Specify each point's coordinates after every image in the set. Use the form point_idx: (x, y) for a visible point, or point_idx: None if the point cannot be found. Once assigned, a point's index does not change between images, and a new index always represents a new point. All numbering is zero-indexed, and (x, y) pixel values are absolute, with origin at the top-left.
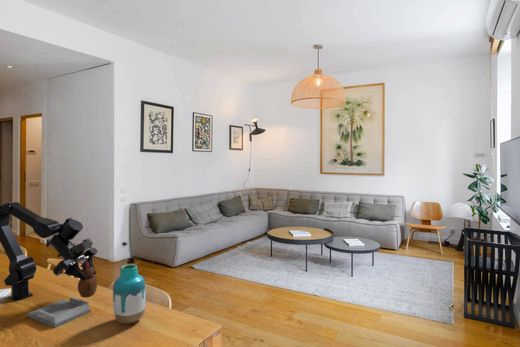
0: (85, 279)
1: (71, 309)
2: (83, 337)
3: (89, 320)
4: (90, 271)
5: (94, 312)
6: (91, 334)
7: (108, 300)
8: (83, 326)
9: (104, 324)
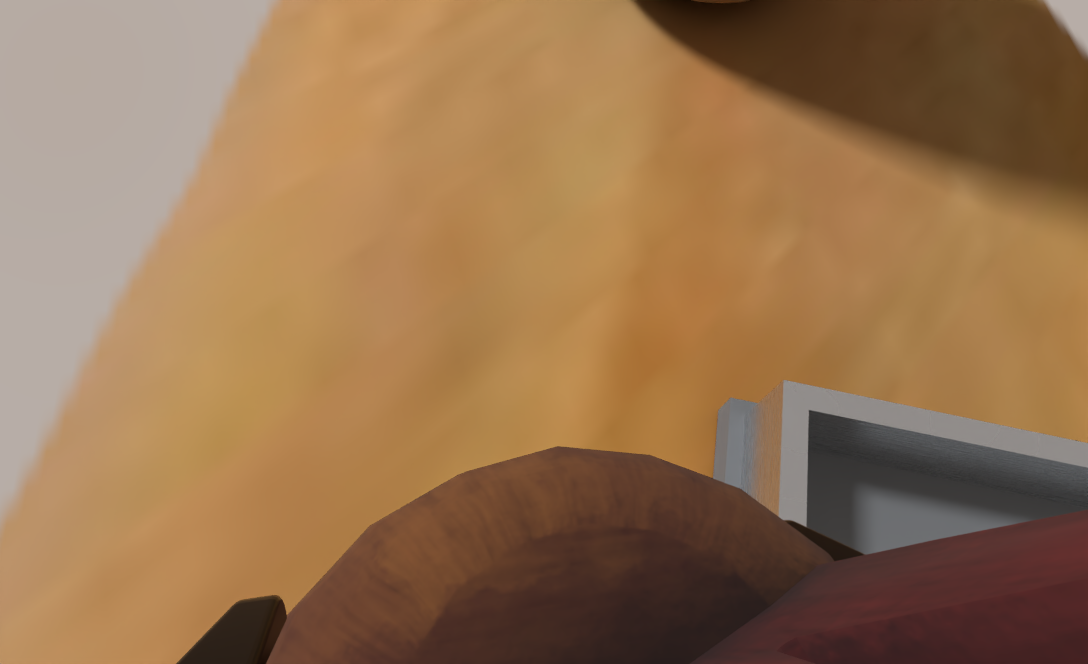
0: None
1: (1051, 449)
2: (1069, 120)
3: (864, 273)
4: (655, 458)
5: (708, 355)
6: (1005, 93)
7: (349, 433)
8: (970, 243)
9: (841, 97)
